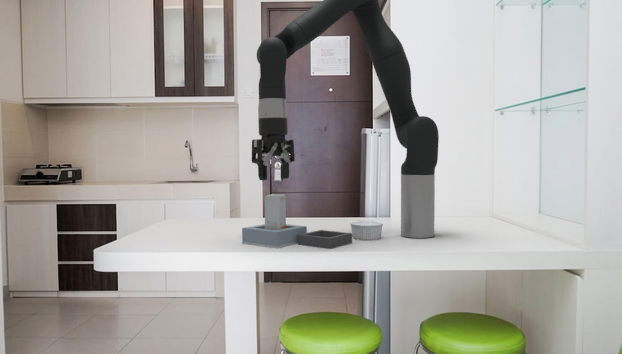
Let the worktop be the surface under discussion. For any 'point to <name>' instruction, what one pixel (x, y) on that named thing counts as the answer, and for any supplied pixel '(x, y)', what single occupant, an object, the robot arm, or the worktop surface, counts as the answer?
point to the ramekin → (366, 230)
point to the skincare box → (275, 212)
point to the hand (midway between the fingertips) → (274, 179)
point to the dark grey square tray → (325, 239)
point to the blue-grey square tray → (272, 235)
